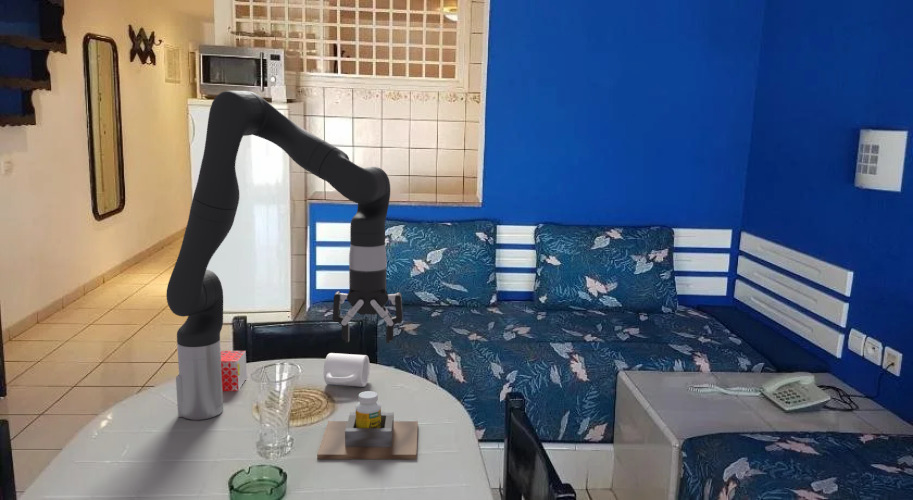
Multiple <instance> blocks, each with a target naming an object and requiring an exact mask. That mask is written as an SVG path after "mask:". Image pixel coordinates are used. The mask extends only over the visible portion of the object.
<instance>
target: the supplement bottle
mask: <svg viewBox="0 0 913 500" xmlns="http://www.w3.org/2000/svg"><path fill="white" fill-rule="evenodd" d="M378 395H379V394H378V393H377V392H375V391H373V390H372V391H371V390H367V391H366V390H365V391H362V392H360V393H359V394H358V402H357V403H356V405H355V412H356V428H381V413H382V405H381V403H380V402H378V399H379V397H378Z"/></svg>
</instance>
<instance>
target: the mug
mask: <svg viewBox="0 0 913 500" xmlns="http://www.w3.org/2000/svg"><path fill="white" fill-rule="evenodd" d="M370 366H371V365H370V359H369V356H368V355H367V354H352V353H350V354H349V353H340V352H339V353H337V352H336V353H335V352H329V353H328V354H327V355H326V357H325V360H324V364H323V380H324V383H325V384H326V385H332V386H333V385H335V386H346V387H347V386H349V387H359V388H362V387H363V388H364V387H366V386H367V384H368V381H369V377H370Z"/></svg>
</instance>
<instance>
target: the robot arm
mask: <svg viewBox="0 0 913 500" xmlns="http://www.w3.org/2000/svg"><path fill="white" fill-rule="evenodd" d="M245 136H255V137H258V138H261V139H263V140H267V141H268V142H271V143H273V144H275V145H276V146H278V147H279V148H281V150H282V151H284V152H285V153H286V154H287V155H288V157H289V158H290V159H291V160H292V161H293V162H295V164H297V165H298V166H299V167H300V168H302V169H303V170H305V171H307V172H309V173H311V174H312V175H314V176H316V177H317V178H319V179H321V180H323V181H325V182H327V183H328V184H329V185H330V186H331V187H332V188H333V189H335V190H336V191H337V192H338V193H339V194H341V195H342V196H343V197H344V198H345V199H348V200H349V201H351V202H353V203H355V204H357V209H356V213H355V215H354V216H353V217H352V218H351V220H350V231H349V233H350V246H349V255H348V258H349V259H348V263H349V264H348V267H349V268H348V270H349V271H348V272H349V273H348V275H349V279H348V281H349V283H348V285H349V289H348V290H349V291H348V293H344V292H340V291H339V290H338V291H336V292H335V293H334V295H333V302H332V303H333V304H332V305H333V307H332V322H333V323H338V324H340V325H341V339H342V340H343V341H344V343H349V342H350V321H351V320H352V319H353V317H354V316H355V315H356V314H357V313H358V314H359V315H363V316H364V315H369V316H370V315H371V316H375V315H376V314H378V315H379V316H380V318H382V319H383V320H384V322H385V323H386V329H385V330H386V333H385V335H386V337H385V338H386V340H385V342H386V344H390V343H391V341H393V339H394V335H395V334H394V332H395V331H394V329H395V328H394V326H395V325H396V324H401V323H402V322H403V300H402V293H401V292H400V291H399V292H396V293H390V294H389V293H388V292H387V264H388V261H387V249H386V219H387V215H388V211H389V210H388V209H389V204H390V198H391V182H390V177H389V176H388V174H387V173H386V171H385V170H384V169H382V168H380V167H377V166H369V167H361V166H360V165H357V164H356V163H354V162H353V161H351V160H350V157H349V155H348V154H347V153H345V151H343V150H341V149H340V148H338V147H336V146H334V145H333V144H331V143H329V142H328V141H325V140H324V139H322V138H320V137H319V136H317V135H315V134H313V133H311V132H310V131H308V130H306V129H305V128H303V127H302V126H299V125H298V124H297V123H295V122H294V121H293V120H291V119H289V117H287V116H285V115H284V114H283V113H281V112H280V111H279V110H278V109H277V108H275V106H273V105H272V104H271V103H269V102H268V101H267V100H265V99H264V98H263V97H262V96H261V95H259V94H257V93H255V92H253V91H251V90H250V91H249V90H226V91H222V92H220V93H218V95H216V96H215V98H214V99H213V100H212V102H211V105H210V109H209V113H208V119H207V128H206V136H205V143H204V150H203V154H202V159H201V163H200V164H201V165H200V168H199V172H198V173H199V174H198V178H197V182H196V186H195V190H194V193H193V196H192V202H191V204H190V209H189V214H188V220H187V223H186V228H185V231H184V234H183V238H182V241H181V246H180V248H179V249H180V250H179V253H178V256H177V259H176V261H175V264H174V267H173V269H172V272H171V276H170V277H169V280H168V283H167V286H166V293H165V294H166V302H167V305H168V308H169V309H170V311H171V312H172V313H173V314H174V315H176V316H179V317H183V318H184V317H187V318H186V320H185V322H184V323H183V324H182V325H181V326H180V327H179V328H178V329H177V332H176V344H177V345H176V348H177V362H178V363H177V364H178V375H177V376H176V377H175V386H176V387H175V389H176V401H177V404H176V406H177V417H178V418H184V419H186V420H187V419H188V420H194V421H195V420H199V421H201V420H207V419H211V418H214V417H217V416H219V415H220V414H222V412H223V411H224V397H223V396H224V395H223V392H224V391H222V369H221V351H222V350H221V349H222V348H221V331H222V328H223V326H224V290H223V286H222V282H221V280H220V278H219V277H218V275H217V274H216V273H215V272H214V271H213V270H210V269H208V267H209V263H210V261H211V260H212V258H213V256H214V255H215V253H216V252H217V250H218V249H219V248H220V246H221V245H222V243H223V242H224V240H225V239H226V238H227V236H228V234H229V233H230V231H231V229H232V228H233V225H234V221H235V218H236V214H237V211H238V207H239V203H240V186H239V182H238V177H237V172H236V163H237V162H236V161H237V156H238V152H239V148H240V145H241V142H242V140H243V137H245ZM345 300H347V302H348V303H349V304H350V306H351V307H350V308H349V310H348V311H347V312H346V313H345V315H344V316H343V315H341V305H343V304H344V302H345ZM388 301H391V304H392V305H393V306H395V316H392V314H391V313H390V312H389V310H388V308H387V307H386V306H385V305H386V304H387V302H388Z"/></svg>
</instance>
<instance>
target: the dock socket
mask: <svg viewBox="0 0 913 500" xmlns="http://www.w3.org/2000/svg"><path fill="white" fill-rule="evenodd" d="M394 415H395V413H394V412H381V428H356V411H354V412H353V411H352V412H349V415H348V419H347V420H335V421H334V420H328V421H327V424H326V427H325V430H324V432H323V437H322V439H321V441H320V445H319V448H318V451H317V454H316V460H417V455H418V454H417V451H418V429H419V428H418V426H419V422H418V421H416V420H415V421H411V420H410V421H409V420H406V421H405V420H404V421H403V420H401V421H400V420H399V421H398V420H394V419H395V418H394Z"/></svg>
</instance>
